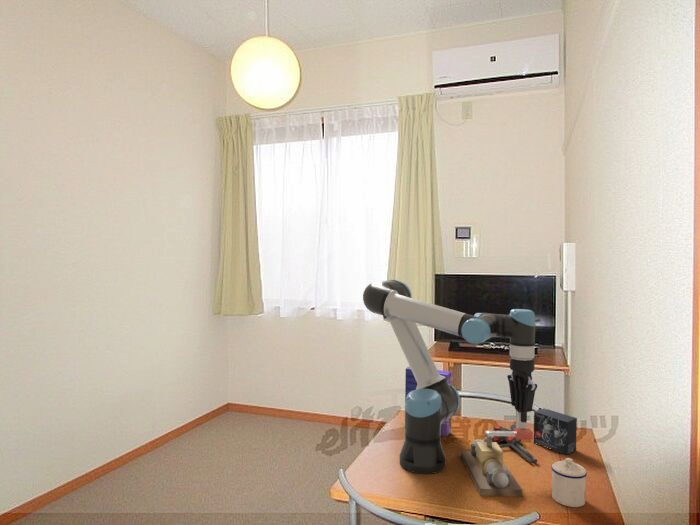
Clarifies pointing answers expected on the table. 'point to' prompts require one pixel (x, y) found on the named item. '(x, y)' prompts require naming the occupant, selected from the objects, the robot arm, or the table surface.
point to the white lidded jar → (568, 483)
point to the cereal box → (411, 385)
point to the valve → (512, 443)
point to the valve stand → (490, 470)
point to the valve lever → (512, 434)
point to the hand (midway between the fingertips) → (521, 430)
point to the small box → (555, 431)
